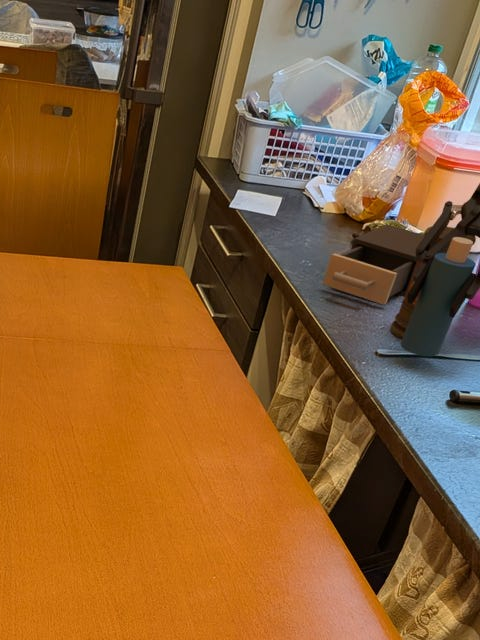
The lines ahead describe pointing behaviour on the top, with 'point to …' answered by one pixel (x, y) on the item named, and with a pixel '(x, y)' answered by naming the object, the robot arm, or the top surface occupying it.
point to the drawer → (369, 273)
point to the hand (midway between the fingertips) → (430, 305)
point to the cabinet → (392, 244)
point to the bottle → (438, 299)
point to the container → (407, 308)
